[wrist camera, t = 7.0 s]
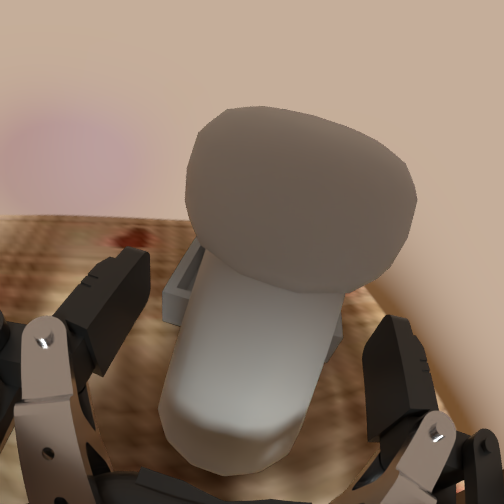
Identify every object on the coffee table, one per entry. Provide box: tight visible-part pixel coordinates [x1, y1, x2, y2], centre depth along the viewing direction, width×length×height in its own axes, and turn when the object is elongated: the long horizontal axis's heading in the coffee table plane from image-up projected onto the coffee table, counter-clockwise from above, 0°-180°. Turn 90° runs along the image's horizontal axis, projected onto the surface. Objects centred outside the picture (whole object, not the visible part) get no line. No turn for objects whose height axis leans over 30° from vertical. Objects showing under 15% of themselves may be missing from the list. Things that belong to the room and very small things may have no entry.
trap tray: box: [162, 236, 343, 363], centre depth 19 cm, size 10×7×2 cm
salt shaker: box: [158, 106, 417, 476], centre depth 8 cm, size 6×6×13 cm
